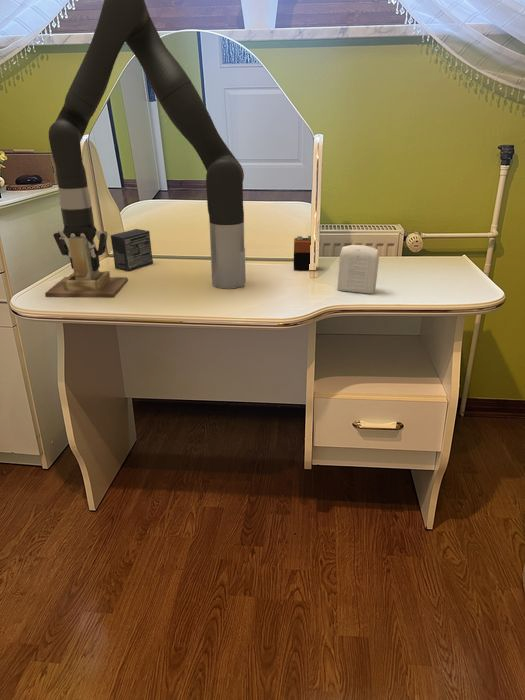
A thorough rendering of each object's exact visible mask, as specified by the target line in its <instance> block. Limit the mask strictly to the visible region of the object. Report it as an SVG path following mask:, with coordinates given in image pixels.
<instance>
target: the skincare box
mask: <svg viewBox="0 0 525 700" xmlns="http://www.w3.org/2000/svg"><path fill="white" fill-rule="evenodd" d="M67 239H68V241H67V242H68V245H69V246H70V252H71V258H72V263H73V269H72V270H73V273H74V274H75V280H94V281H95V280H96V279H97V278H98V277H99V276H100V275H99V271H100V270H99V268H98V270H97V271H93V267H92V260H91V258H92V256H91V254H90V252H89V250H88V246H87V240H86V238H85V237H81V236H79V237H73V238H67ZM93 240H94V241H95V239H93ZM90 244H91V245H92V242H91V243H90ZM69 246H68V247H69Z"/></svg>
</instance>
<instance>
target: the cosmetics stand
mask: <svg viewBox="0 0 525 700" xmlns="http://www.w3.org/2000/svg"><path fill="white" fill-rule="evenodd" d="M99 275H100V276H99V277H98V278H97V279H96V280H95V281H94V280H75V274H74V272H72V273H71V274H70V275H68V276H64V277H63V278H62V279H61V280H60V281H58V282H57V283H55V284H54V285H53V286H52V287H51V288H49V289H48V290H47V291H45V292H44V296H45V297H46V298H115V297H116V295H117V294H118V293H119V292H120V291H121V289H123V288H124V287H125V285H126V284H127V282H128V281H129V279H128V277H124V276H123V277H120V276H118V277H116V276H113V277H111V274H110V270H99Z"/></svg>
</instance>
